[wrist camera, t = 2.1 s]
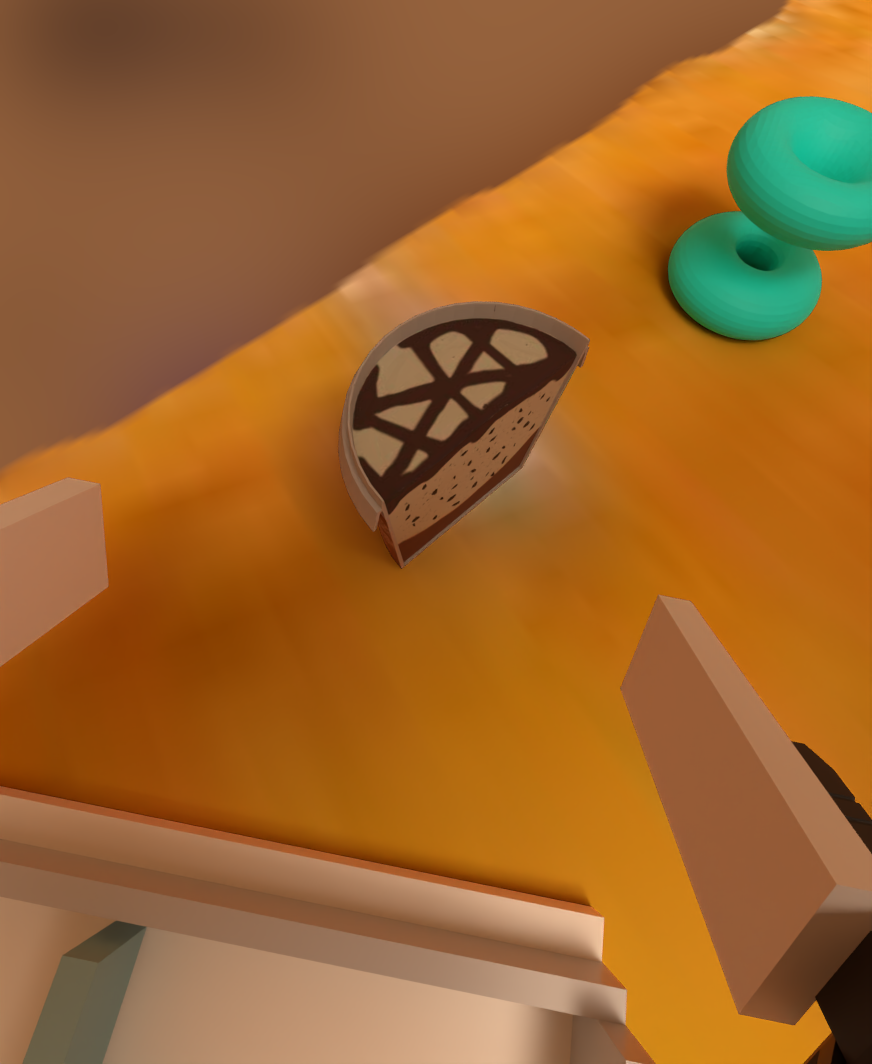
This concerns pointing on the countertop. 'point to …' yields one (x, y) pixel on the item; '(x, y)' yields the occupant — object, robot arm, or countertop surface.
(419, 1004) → the pusher lane
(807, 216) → the donuts
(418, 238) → the countertop surface
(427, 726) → the countertop surface
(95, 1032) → the pusher paddle
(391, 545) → the food container
